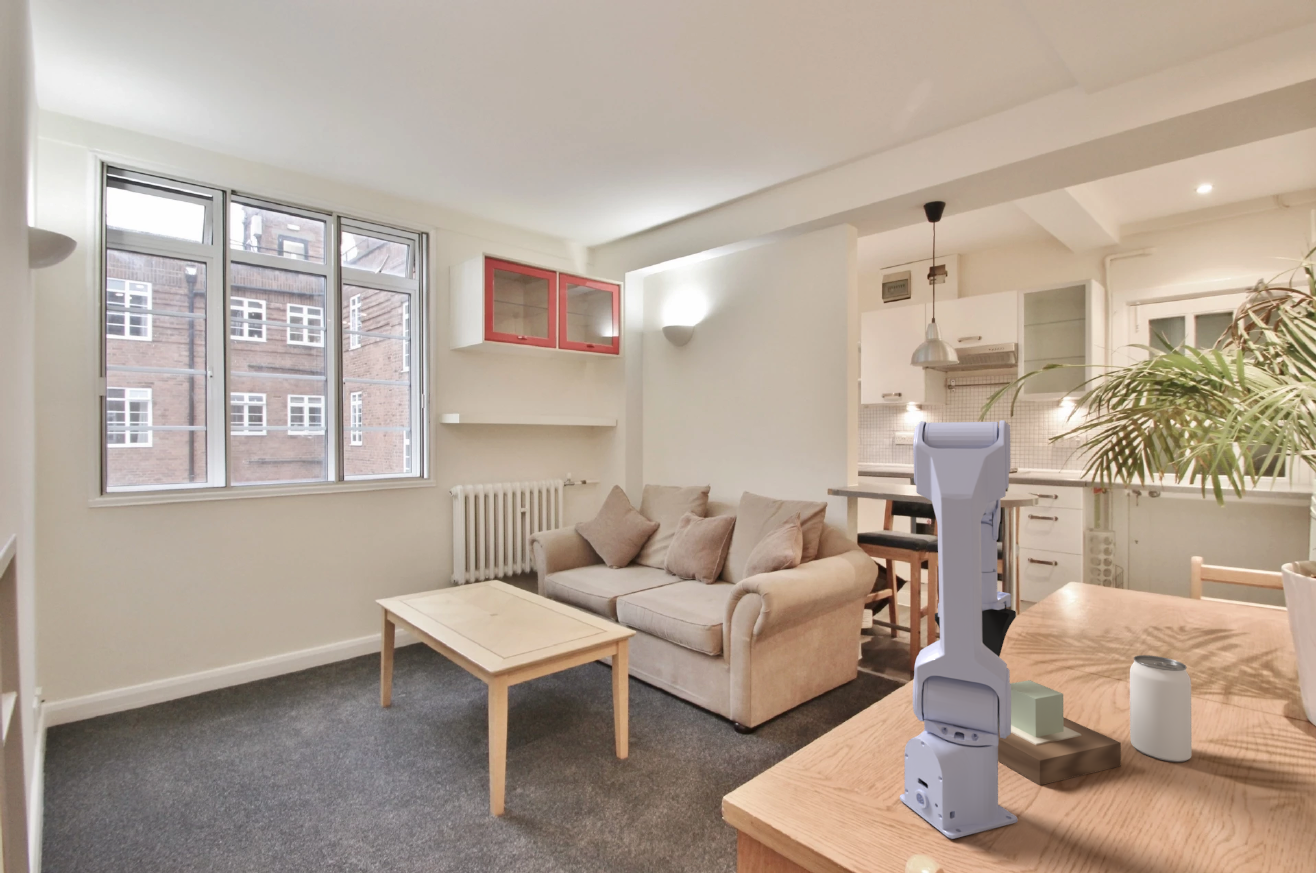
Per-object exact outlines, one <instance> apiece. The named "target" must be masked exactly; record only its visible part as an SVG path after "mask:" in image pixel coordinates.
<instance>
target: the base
mask: <svg viewBox="0 0 1316 873" xmlns="http://www.w3.org/2000/svg"><path fill="white" fill-rule="evenodd" d="M1063 721H1064V731H1063V732H1059V733H1054V734H1049V735H1044V736H1039V737H1034V736H1032V735H1030V734H1028V733H1026V732H1024V731H1022V730H1020V729H1018V728H1016V727H1014V726H1012V725H1011V734H1010V735H1009V736H1007V737H1006V738H1005V739H1004V738H1000V728H999V741H998V763H1000V764H1002V765H1004V766H1005V767H1007V768H1009V769H1011V770H1013V771H1014V772H1016V773H1018V774H1019V775H1021V776H1023V777H1025V778H1026V779H1028V780H1030V781H1032V782H1034V784H1037V785H1038V786H1042V785H1046V784H1050V783H1055V782H1059V781H1063V780H1068V779H1071V778H1072V779H1073V778H1075V777H1081V776H1084V775H1088V774H1093V773H1096V772H1097V773H1098V772H1102V771H1105V770H1110V769H1114V768H1118V767H1121V765H1122V763H1121V762H1122V751H1121V749H1122V747H1121V746H1122V745H1121V744H1122V743H1121V742H1120V741H1118V740H1116V739H1113V738H1111V737H1110V736H1107V735H1105V734H1102V733H1101V732H1099V731H1095V730H1094V729H1091V728H1090V727H1087V726H1085V725H1082V724H1080V723H1078V722H1076V721H1073V720H1071V719H1069V718H1067V717H1064V716H1063Z"/></svg>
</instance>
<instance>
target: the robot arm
mask: <svg viewBox="0 0 1316 873" xmlns="http://www.w3.org/2000/svg"><path fill="white" fill-rule="evenodd" d="M912 446H913V448H912V450H913V452H912V453H913V482H914V485H915V486H916V491H915V492H916V494H918V495H919V496H922V497H923V498H924V499H927V500H929V501H930V502H931V503H932V508H933V511H934V515H935V519H936V524H937V551H938V552H937V555H938V556H937V558H938V561H937V562H938V604H937V612H935V613H934V621H935V623H936V624H937V626H938V628H939V640H936V641H935V642H934V641H933V642H932V643H931V644H929V645H927V646H925V647H923V648H922V649H921V650H920V651H919V652H918V655H917V656H916V659H915V661H914V662H915V663H914V669H913V670H914V672H913V674H914V676H913V682H912V709H913V714H914V715H915V717H916V718H917V720H918V721H920V722H924V724H923V726H924V730H923V731H922V732H920V734H918V735H916V736H914V737H912V738H910V739H909V740H908V741H907V743H906V745H905V748H904V793H902V794H900V795H899V800H900V801H901V802H902V803H904V805H906V806H907V807H908V808H910V809H911V810H912V811H913V812H915V813H916V814H918V815H919V816H920V817H922V819H924V820H925V821H926V822H928V823H929V824H931V826H933V827H935V828H936V829H937V830H938V831H940V833H942V834H943V835H944V836H946V837H947V838H948V839H953V840H954V839H957V838H960V837H961V838H962V837H965V836H970V835H973V834H977V833H982V832H985V831H989V830H993V829H996V828H1000V827H1004V826H1008V825H1012V824H1015V823H1018V817H1017V816H1016V815H1015V814H1014V813H1012V812H1010V811H1009V810H1007V809H1006V808H1004V807H1002V806H1001V805H999V762H998V741H999V728H1000V738H1004V739H1005V738H1006V737H1007V736H1009V735H1010V734H1011V684H1010V683H1011V682H1010V680H1011V679H1010V673H1011V672H1010V669H1009V668H1008V664H1007V663H1006V662H1005V661H1004V660H1003V659H1002V658H1001V653H1002V649H1003V647H1004V643H1005V642H1004V641H1005V638H1006V636H1007V633H1008V631H1009V629H1010V627H1011V625H1012V623H1013V622H1014V620H1015V619H1016V617H1017V611H1016V610H1014V609H1011V608H1010V607H1011V606H1012V599H1011V598H1012V594H1011V593H1008V592H1003V591H1000V590H998V542H997V540H998V539H999V529H1000V522H1001V506H1002V505H1001V504H1002V502H1001V499H1002V498H1005V497H1006V494H1007V493H1006V490H1007V489H1008V488H1009V486H1010V485H1009V483H1010V480H1009V479H1010V473H1011V425H1010V424H1009V423H1007V422H1006V420H1005V419H1003V420H1002V419H1001V420H999V422H998V421H955V422H954V421H953V422H952V421H949V422H947V421H946V422H944V421H943V422H942V421H941V422H927V421H923V420H922V421H920V422H918V424H917V425H916V426H915V428H914V432H913V442H912ZM1009 608H1010V609H1009Z"/></svg>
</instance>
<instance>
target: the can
mask: <svg viewBox="0 0 1316 873" xmlns="http://www.w3.org/2000/svg"><path fill="white" fill-rule="evenodd" d="M1187 669H1188V667H1187V664H1184V663H1182V662H1181V661H1178V660H1175V659H1172V658H1168V657H1163V656H1158V655H1149V654H1148V655H1147V654H1146V655H1145V654H1144V655H1142V654H1140V655H1135V656H1134V657H1133V663H1132V664H1131V666H1130V668H1129V736H1130V737H1129V739H1130V743H1131V745H1132V746H1133V748H1134V749H1135V750H1136V751H1137V752H1139V753H1141V754H1143V755H1145V756H1148V757H1150V758H1153V759H1156V760H1160V761H1164V762H1170V763H1185V762H1187V761H1188V760H1190V759H1191V758H1192V746H1193V745H1192V743H1193V742H1192V680H1191V677H1190V675H1189V674H1188V671H1187Z"/></svg>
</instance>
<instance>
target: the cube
mask: <svg viewBox="0 0 1316 873" xmlns="http://www.w3.org/2000/svg"><path fill="white" fill-rule="evenodd" d="M1010 684H1011V725H1012V726H1014V727H1016V728H1018V729H1020V730H1022V731H1024V732H1026V733H1028V734H1030V735H1032V736H1034V737H1039V736H1044V735H1049V734H1054V733H1059V732H1063V731H1064V721H1063V717H1064V693H1062V692H1060V691H1058V690H1055V689H1053V688H1050V687H1048V686H1045V685H1043V684H1040V683H1038V682H1035V681H1033V680H1031V679H1030V680H1029V679H1028V680H1023V681H1017V682H1010Z"/></svg>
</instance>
